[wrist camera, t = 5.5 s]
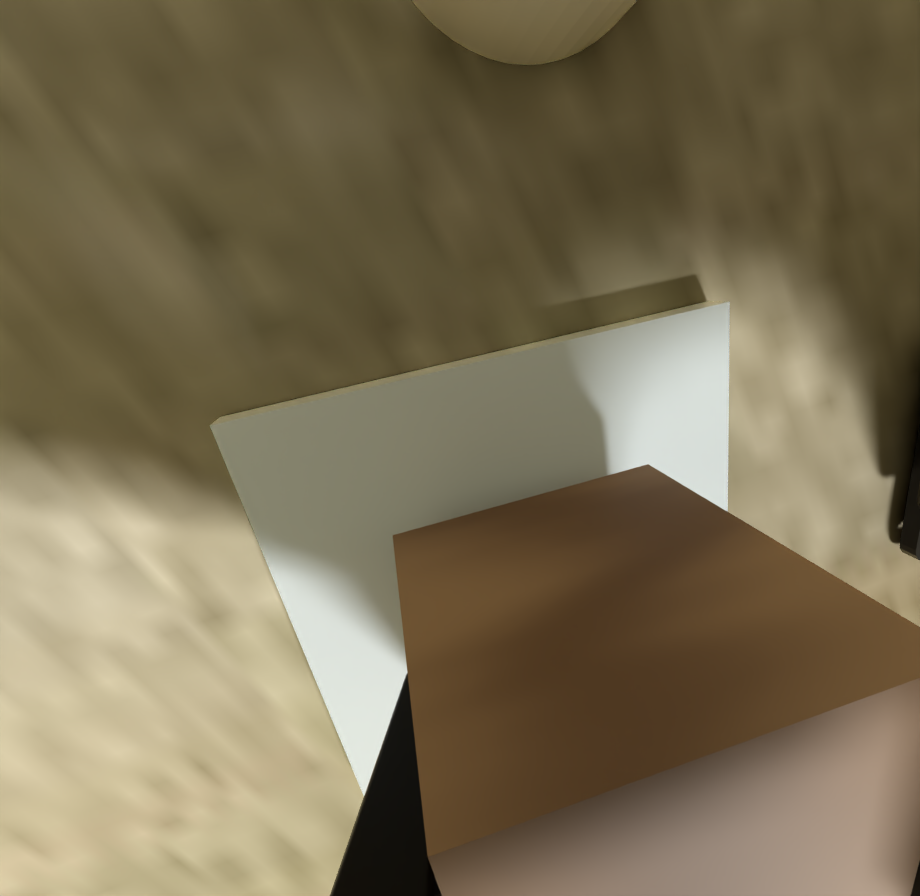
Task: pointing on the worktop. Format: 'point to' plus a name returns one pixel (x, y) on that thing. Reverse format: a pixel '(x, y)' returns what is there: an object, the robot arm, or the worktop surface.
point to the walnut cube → (653, 704)
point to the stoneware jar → (524, 26)
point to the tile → (459, 474)
